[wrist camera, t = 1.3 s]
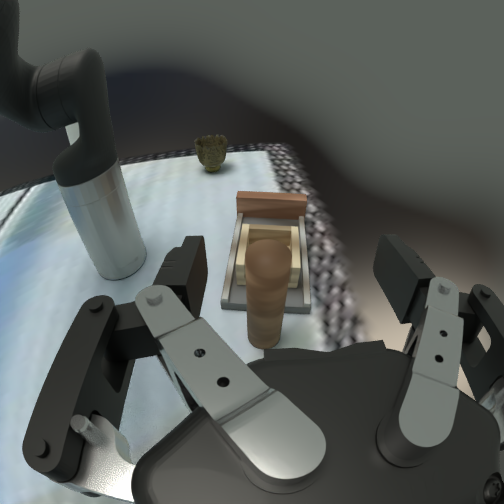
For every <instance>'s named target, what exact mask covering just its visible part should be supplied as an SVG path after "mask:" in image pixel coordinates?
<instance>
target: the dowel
mask: <svg viewBox="0 0 504 504" xmlns="http://www.w3.org/2000/svg"><path fill="white" fill-rule="evenodd" d="M291 262H292V253H291V251H290V249H289V248H288V247H287V246H286V245H285V244H283V243H282V242H279V241H276V240H271V239H264V240H259V241H256V242H254V243H252V244H251V245H250V246H249V247H248V248H247V250H246V252H245V272H246V302H247V330H248V339H249V342H250V343H251V344H252V345H253V346H254V347H256V348H259V349H269V348H272V347H274V346H275V345H276V344H277V343H278V341H279V339H280V333H281V327H282V321H283V315H284V309H285V302H286V296H287V289H288V283H289V276H290V269H291Z"/></svg>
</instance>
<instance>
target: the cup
mask: <svg viewBox="0 0 504 504" xmlns="http://www.w3.org/2000/svg"><path fill="white" fill-rule="evenodd" d="M194 142H195V147H196V151H197V155H198V159H199V161H200V163H201V164H202V165H204V166H205V169H206V170H207V171H208V172H217V171H219V170H220V167H221V164H222V163H223V162H224V160H225V157H226V148H227V140H226V137H224V136H223V135H221V136H220V137H219V136H218V135H216V137H214V136H213V135H211V136H209V135H207V136H206V139H205V138H204V136H203V137H202V139H200V138H197V140H195V141H194Z"/></svg>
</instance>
